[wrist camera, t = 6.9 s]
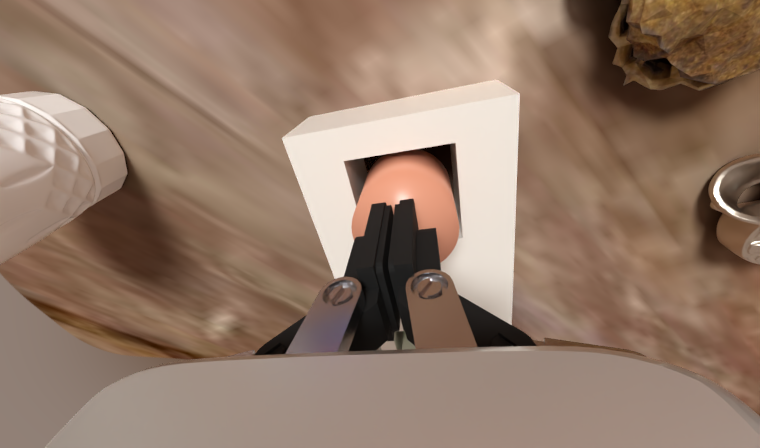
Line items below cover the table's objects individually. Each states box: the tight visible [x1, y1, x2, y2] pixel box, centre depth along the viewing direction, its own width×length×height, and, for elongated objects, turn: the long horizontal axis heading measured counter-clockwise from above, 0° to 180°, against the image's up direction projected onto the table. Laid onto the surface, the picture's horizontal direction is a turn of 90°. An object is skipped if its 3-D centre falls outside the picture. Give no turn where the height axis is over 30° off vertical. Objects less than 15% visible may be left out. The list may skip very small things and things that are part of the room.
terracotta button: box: [351, 149, 459, 263], centre depth 14 cm, size 4×4×4 cm
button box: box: [282, 79, 520, 350], centre depth 19 cm, size 10×20×4 cm, turn 12°
